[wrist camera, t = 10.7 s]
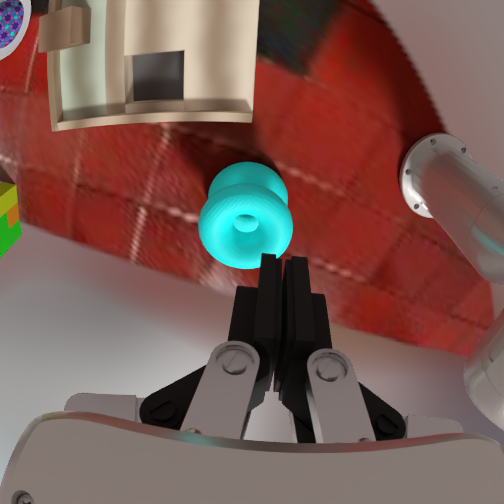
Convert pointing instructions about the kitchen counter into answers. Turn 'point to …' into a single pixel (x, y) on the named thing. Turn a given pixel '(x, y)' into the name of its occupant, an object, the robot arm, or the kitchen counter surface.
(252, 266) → the donuts
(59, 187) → the kitchen counter surface
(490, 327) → the robot arm
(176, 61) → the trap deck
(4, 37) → the pudding
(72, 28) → the walnut block
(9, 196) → the puzzle toy
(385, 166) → the kitchen counter surface
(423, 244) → the kitchen counter surface
